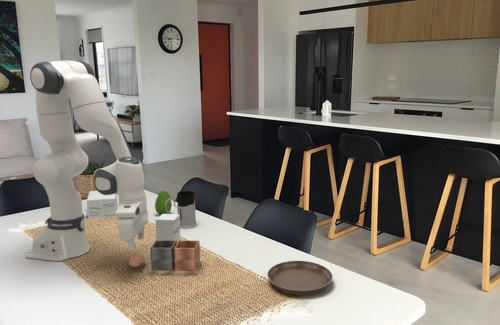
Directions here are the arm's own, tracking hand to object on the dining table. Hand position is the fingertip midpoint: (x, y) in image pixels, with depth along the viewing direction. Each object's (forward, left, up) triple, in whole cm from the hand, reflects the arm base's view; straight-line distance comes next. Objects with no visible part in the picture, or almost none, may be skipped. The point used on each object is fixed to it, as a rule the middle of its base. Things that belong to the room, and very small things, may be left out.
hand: (136, 243), depth 151 cm
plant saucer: (+55, -9, -10) cm, 57 cm away
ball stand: (-1, 0, -9) cm, 9 cm away
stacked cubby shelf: (+13, 0, -9) cm, 16 cm away
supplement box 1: (-37, +63, -10) cm, 74 cm away
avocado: (-6, +60, -9) cm, 61 cm away
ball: (-1, 0, -6) cm, 6 cm away
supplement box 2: (+6, +19, -9) cm, 22 cm away
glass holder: (+6, +43, -9) cm, 45 cm away
